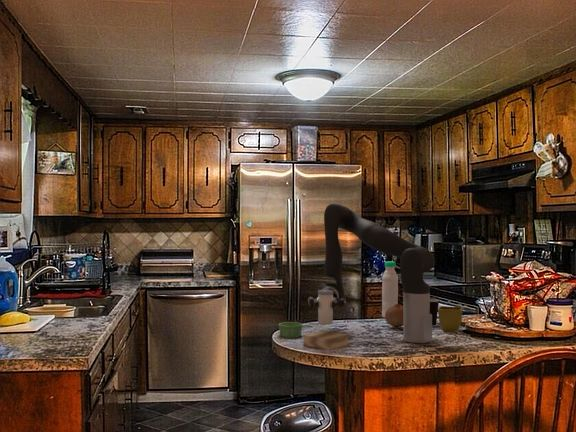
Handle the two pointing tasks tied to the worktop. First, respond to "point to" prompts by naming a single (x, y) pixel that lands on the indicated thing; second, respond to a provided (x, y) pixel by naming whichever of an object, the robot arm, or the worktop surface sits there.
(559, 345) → the worktop surface
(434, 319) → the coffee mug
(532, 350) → the worktop surface
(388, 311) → the onion
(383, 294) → the water bottle
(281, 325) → the ramekin
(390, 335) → the worktop surface
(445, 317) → the flower pot
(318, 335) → the base block
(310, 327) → the worktop surface
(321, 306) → the canister
